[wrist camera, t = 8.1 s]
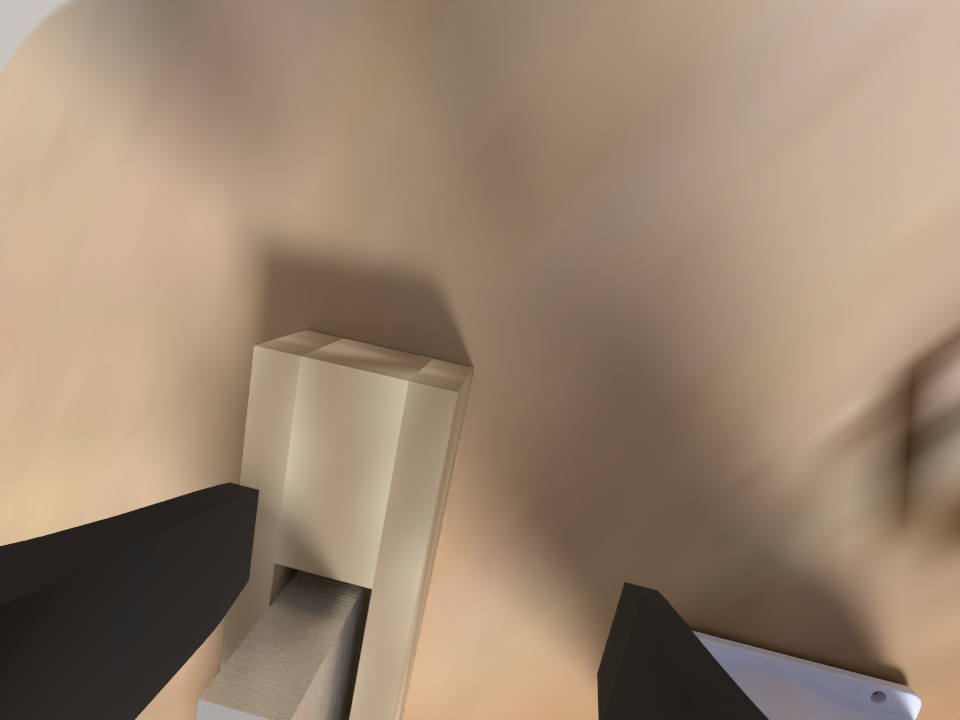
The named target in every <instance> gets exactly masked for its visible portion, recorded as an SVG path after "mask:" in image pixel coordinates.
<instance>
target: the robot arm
mask: <svg viewBox="0 0 960 720" xmlns="http://www.w3.org/2000/svg"><path fill="white" fill-rule="evenodd" d="M258 498H259V490H258V489H254V488H250V487H246V486H242V485H238V484H234V483H226V484H221V485H217V486H213V487H210V488H206V489H202V490H199V491H196V492H192V493H189V494H186V495H182V496H179V497H176V498H173V499H169V500H166V501H163V502H160V503H157V504H153V505H150V506H147V507H144V508H140V509H137V510H134V511H131V512H127V513H124V514H121V515H117V516H114V517H111V518H107V519H103V520H100V521H96V522H92V523H89V524H85V525H82V526H78V527H74V528H71V529H67V530H64V531H60V532H56V533H53V534H49V535H45V536H42V537H37V538H33V539H29V540H25V541H21V542H17V543H12V544H8V545H4V546H0V720H135V719H136V718H137V717H138V715H139V714H140V713H141V712H142V711H143V710H144V709H145V708H146V706H147V705H148V704H149V703H150V702H151V701H152V700H153V699H154V698H155V696H156V695H157V694H158V693H159V692H160V691H161V690H162V689H163V687H164V686H165V685H166V684H167V683H168V682H169V681H170V680H171V679H172V677H173V676H174V675H175V674H176V673H177V672H178V671H179V670H180V668H181V667H182V666H183V665H184V664H185V663H186V662H187V661H188V659H189V658H190V657H191V656H192V655H193V654H194V653H195V651H196V650H197V649H198V648H199V647H200V646H201V645H202V644H203V642H204V641H205V640H206V639H207V638H208V637H209V635H210V634H211V633H212V632H213V631H214V630H215V628H216V627H217V626H218V625H219V623H220V622H221V620H222V619H223V618H224V616H225V615H226V613H227V612H228V611H229V609H230V608H231V606H232V605H233V603H234V602H235V601H236V599H237V598H238V596H239V595H240V593H241V592H242V590H243V589H244V587H245V586H246V584H247V583H248V581H249V576H250V567H251V559H252V550H253V541H254V532H255V524H256V515H257V506H258ZM597 679H598V713H599V720H915V719H916V717H917V715H918V712H919V710H920V708H921V704H922V702H921V699H920V698H919V696H918V695H917V694H916V693H915V692H914V691H913V690H912V689H911V688H910V687H907V686H905V685H901V684H897V683H893V682H889V681H885V680H882V679H878V678H874V677H870V676H866V675H862V674H858V673H854V672H850V671H847V670H843V669H839V668H835V667H831V666H827V665H823V664H819V663H816V662H812V661H808V660H804V659H800V658H796V657H792V656H788V655H785V654H781V653H777V652H773V651H769V650H765V649H761V648H757V647H753V646H750V645H746V644H742V643H738V642H734V641H730V640H726V639H722V638H719V637H715V636H711V635H707V634H703V633H699V632H695V631H692V630H691V629H690V628H689V626H688V625H687V624H686V623H685V622H684V620H683V619H682V618H681V617H680V616H679V614H678V613H677V612H676V611H675V610H674V608H673V607H672V606H671V605H670V604H669V602H668V601H667V600H666V599H665V598H664V597H663V596H662V595H661V594H660V592H659V591H657V590H653V589H649V588H645V587H641V586H637V585H633V584H629V583H626V582H625V583H624V587H623V590H622V593H621V597H620V600H619V603H618V607H617V610H616V613H615V617H614V620H613V623H612V627H611V630H610V633H609V637H608V640H607V643H606V647H605V650H604V653H603V657H602V660H601V663H600V667H599V670H598V673H597ZM876 691H878V692H877V693H876V694H873V693H874V692H876ZM872 694H873V695H872Z"/></svg>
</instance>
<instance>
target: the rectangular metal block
mask: <svg viewBox="0 0 960 720" xmlns="http://www.w3.org/2000/svg"><path fill="white" fill-rule="evenodd" d="M371 593H372V589H370V588H366V587H362V586H358V585H355V584H351V583H347V582H343V581H339V580H336V579H332V578H328V577H324V576H321V575H317V574H313V573H309V572H305V571H302V570H298V572H297V573H296V574H295V576H294V577H293V578H292V579H291V581H290V582H289V583H288V584H287V586H286V587H285V588H284V590H283V591H282V592H281V593H280V595H279V596H278V597H277V598H276V600H275V601H274V602H273V604H272V605H271V606H270V607H269V609H268V610H267V611H266V613H265V614H264V615H263V616H262V618H261V619H260V620H259V621H258V623H257V624H256V625H255V627H254V628H253V629H252V630H251V632H250V633H249V634H248V635H247V637H246V638H245V639H244V641H243V642H242V643H241V644H240V646H239V647H238V648H237V649H236V651H235V652H234V653H233V655H232V656H231V657H230V658H229V660H228V661H227V662H226V664H225V665H224V666H223V667H222V669H221V670H220V671H219V672H218V674H217V675H216V676H215V678H214V679H213V680H212V681H211V683H210V684H209V685H208V686H207V688H206V689H205V690H204V692H203V693H202V694H201V695H200V697H199V698H198V702H197V713H196V720H342V719H343V716H344V714H345V712H346V709H347V707H348V705H349V703H350V700H351V698H352V696H353V693H354V690H355V684H356V678H357V672H358V667H359V661H360V655H361V650H362V644H363V638H364V633H365V627H366V621H367V616H368V610H369V604H370V599H371Z"/></svg>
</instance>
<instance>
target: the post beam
mask: <svg viewBox="0 0 960 720" xmlns="http://www.w3.org/2000/svg"><path fill="white" fill-rule="evenodd" d="M473 368H474V367H470V366H465V365H461V364H456V363H452V362H447V361H443V360H439V359H434V358H430V357H425V356H421V355H416V354H412V353H407V352H403V351H399V350H394V349H390V348H385V347H381V346H376V345H372V344H368V343H363V342H359V341H354V340H350V339H345V338H341V337H336V336H332V335H328V334H323V333H319V332H314V331H310V330H303V331H300V332H297V333H293V334H290V335H287V336H284V337H280V338H277V339H274V340H270V341H267V342H264V343H260V344H257V345H254V351H253V361H252V370H251V380H250V389H249V399H248V408H247V418H246V427H245V437H244V446H243V456H242V465H241V475H240V484H239V485H242V486H246V487H250V488H254V489H258V490H259V498H258V506H257V515H256V524H255V532H254V541H253V550H252V559H251V567H250V576H249V581H248V583H247V584H246V586H245V587H244V589H243V590H242V592H241V593H240V595H239V596H238V598H237V599H236V601H235V602H234V603H233V605H232V606H231V608H230V609H229V611H228V612H227V613H226V617H225V626H224V636H223V645H222V655H221V664H220V670H221V669H222V667H223V666H224V665H225V664H226V662H227V661H228V660H229V658H230V657H231V656H232V655H233V653H234V652H235V651H236V649H237V648H238V647H239V646H240V644H241V643H242V642H243V641H244V639H245V638H246V637H247V635H248V634H249V633H250V632H251V630H252V629H253V628H254V627H255V625H256V624H257V623H258V621H259V620H260V619H261V618H262V616H263V615H264V614H265V613H266V611H267V610H268V609H269V607H270V606H271V605H272V604H273V602H274V601H275V600H276V598H277V597H278V596H279V595H280V593H281V592H282V591H283V590H284V588H285V587H286V586H287V584H288V583H289V582H290V581H291V579H292V578H293V577H294V576H295V574H296V573H297V572H298V570H302V571H305V572H309V573H313V574H317V575H321V576H324V577H328V578H332V579H336V580H339V581H343V582H347V583H351V584H355V585H358V586H362V587H366V588H370V589H372V593H371V599H370V604H369V610H368V616H367V621H366V627H365V633H364V638H363V644H362V650H361V655H360V661H359V667H358V672H357V678H356V684H355V690H354V693H353V696H352V698H351V700H350V703H349V705H348V707H347V709H346V712H345V714H344V716H343V719H342V720H402V716H403V712H404V707H405V702H406V697H407V692H408V687H409V682H410V677H411V672H412V667H413V662H414V658H415V653H416V648H417V643H418V638H419V633H420V628H421V623H422V618H423V613H424V608H425V604H426V599H427V594H428V589H429V584H430V579H431V574H432V569H433V564H434V559H435V554H436V550H437V545H438V540H439V535H440V530H441V525H442V520H443V515H444V510H445V505H446V500H447V495H448V491H449V486H450V481H451V476H452V471H453V466H454V461H455V456H456V451H457V446H458V441H459V437H460V432H461V427H462V422H463V417H464V412H465V407H466V402H467V397H468V392H469V387H470V383H471V378H472V373H473Z"/></svg>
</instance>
